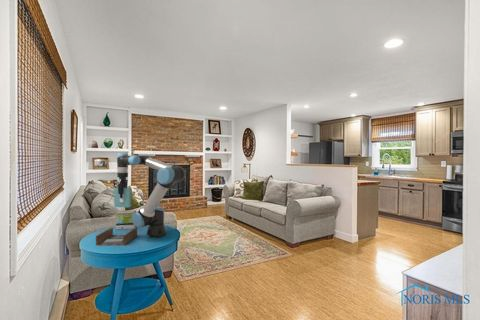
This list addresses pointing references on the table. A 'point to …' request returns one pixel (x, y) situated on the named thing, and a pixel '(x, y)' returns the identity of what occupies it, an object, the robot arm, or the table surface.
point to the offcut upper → (113, 241)
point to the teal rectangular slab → (126, 198)
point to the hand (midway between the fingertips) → (122, 201)
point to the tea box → (125, 219)
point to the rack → (115, 237)
